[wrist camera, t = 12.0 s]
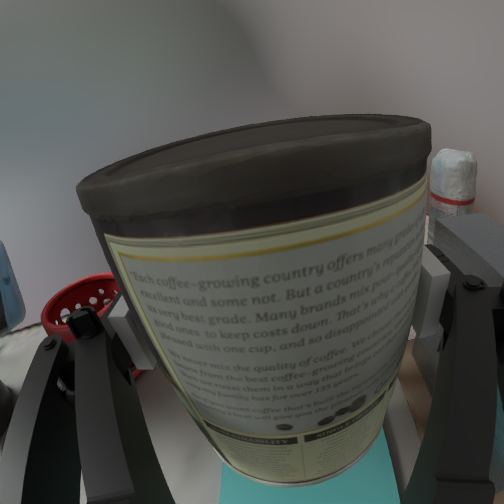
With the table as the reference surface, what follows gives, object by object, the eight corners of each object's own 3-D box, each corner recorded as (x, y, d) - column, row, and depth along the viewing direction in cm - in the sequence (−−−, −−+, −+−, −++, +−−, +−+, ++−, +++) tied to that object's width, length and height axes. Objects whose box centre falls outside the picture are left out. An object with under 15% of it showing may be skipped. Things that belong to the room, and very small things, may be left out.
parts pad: (230, 407, 28) (228, 403, 27) (369, 389, 26) (370, 385, 26) (219, 535, 14) (216, 534, 14) (399, 514, 13) (402, 513, 13)
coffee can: (171, 423, 14) (47, 188, 8) (276, 327, 21) (239, 125, 15) (320, 524, 8) (337, 162, 2) (411, 373, 14) (441, 115, 8)
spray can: (469, 278, 37) (485, 157, 28) (427, 276, 41) (435, 153, 32) (459, 253, 44) (468, 148, 35) (421, 251, 48) (425, 144, 39)
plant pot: (156, 393, 31) (112, 320, 25) (73, 399, 30) (24, 334, 24) (163, 327, 42) (135, 260, 37) (93, 339, 41) (61, 279, 36)
